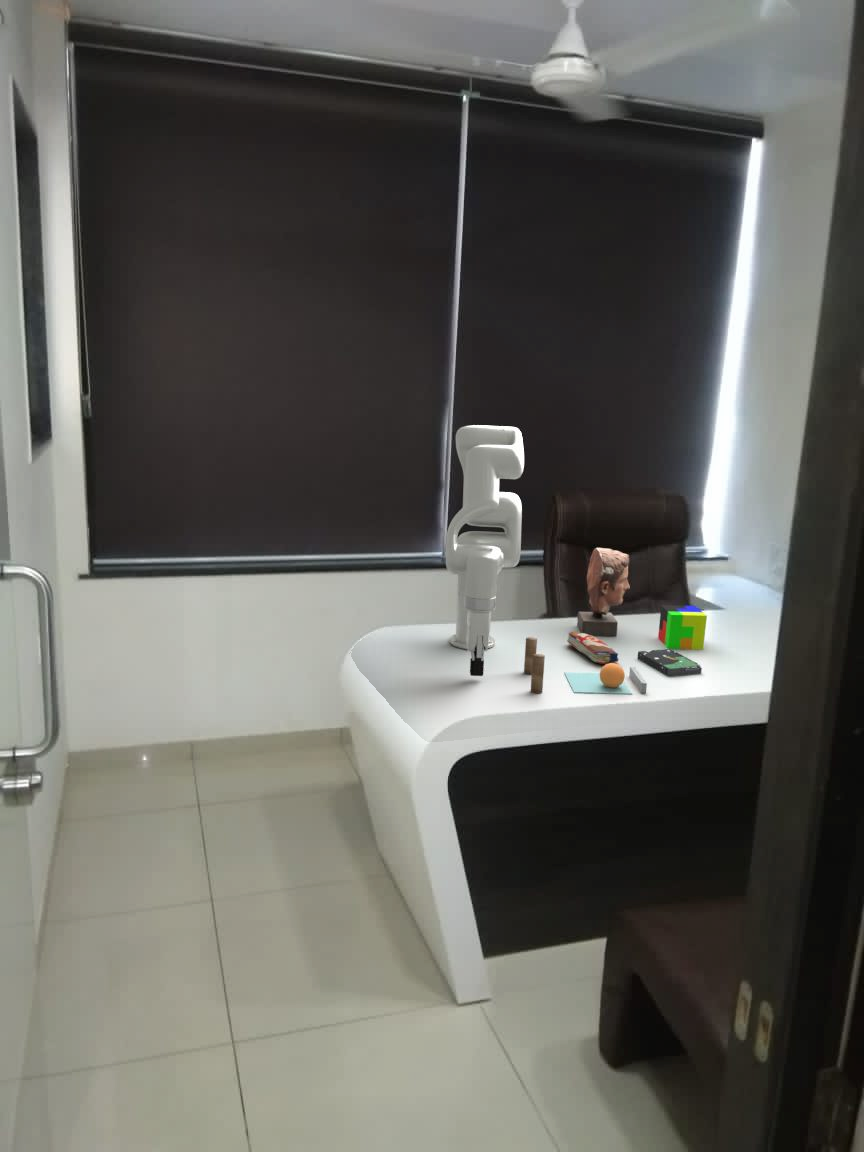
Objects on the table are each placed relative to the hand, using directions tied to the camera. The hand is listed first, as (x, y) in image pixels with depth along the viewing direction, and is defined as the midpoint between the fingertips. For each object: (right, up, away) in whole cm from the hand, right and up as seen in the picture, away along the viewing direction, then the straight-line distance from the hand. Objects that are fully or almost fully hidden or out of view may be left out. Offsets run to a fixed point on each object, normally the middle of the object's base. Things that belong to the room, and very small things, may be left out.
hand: (476, 674), depth 220 cm
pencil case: (+32, +2, +23) cm, 40 cm away
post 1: (+14, 0, +7) cm, 16 cm away
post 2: (+14, -3, -6) cm, 16 cm away
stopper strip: (+40, -3, +2) cm, 40 cm away
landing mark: (+30, -2, +1) cm, 30 cm away
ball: (+33, 0, -2) cm, 33 cm away
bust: (+39, +8, +45) cm, 60 cm away
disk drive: (+52, 0, +17) cm, 54 cm away
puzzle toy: (+60, +5, +36) cm, 70 cm away
